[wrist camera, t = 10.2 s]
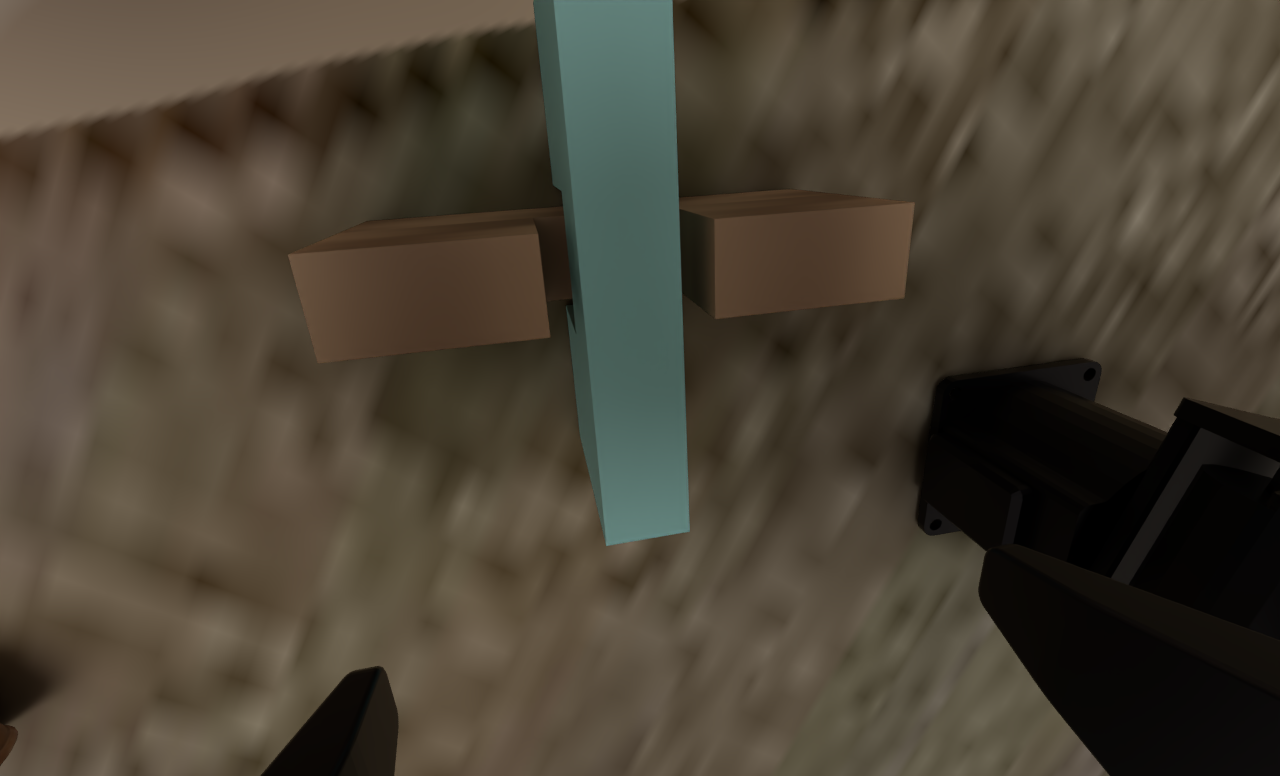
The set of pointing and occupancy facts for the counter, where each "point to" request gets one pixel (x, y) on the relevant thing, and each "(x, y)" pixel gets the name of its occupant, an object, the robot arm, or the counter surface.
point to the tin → (7, 740)
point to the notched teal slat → (621, 251)
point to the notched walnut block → (539, 269)
